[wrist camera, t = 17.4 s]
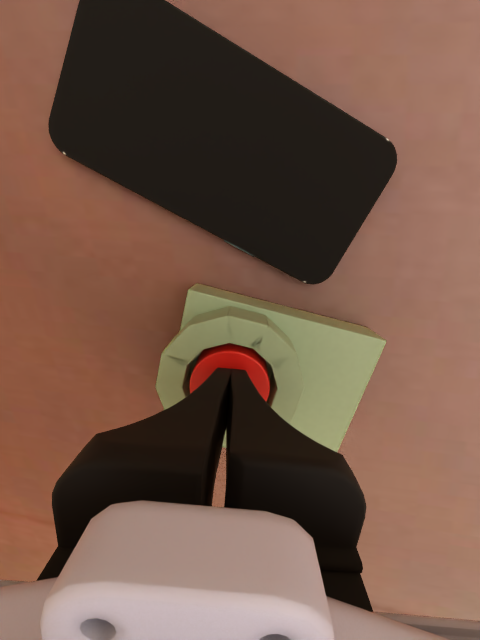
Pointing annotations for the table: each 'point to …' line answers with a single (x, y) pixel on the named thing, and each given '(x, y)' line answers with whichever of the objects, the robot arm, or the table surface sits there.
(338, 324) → the block
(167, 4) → the smartphone
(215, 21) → the table surface
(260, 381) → the button
